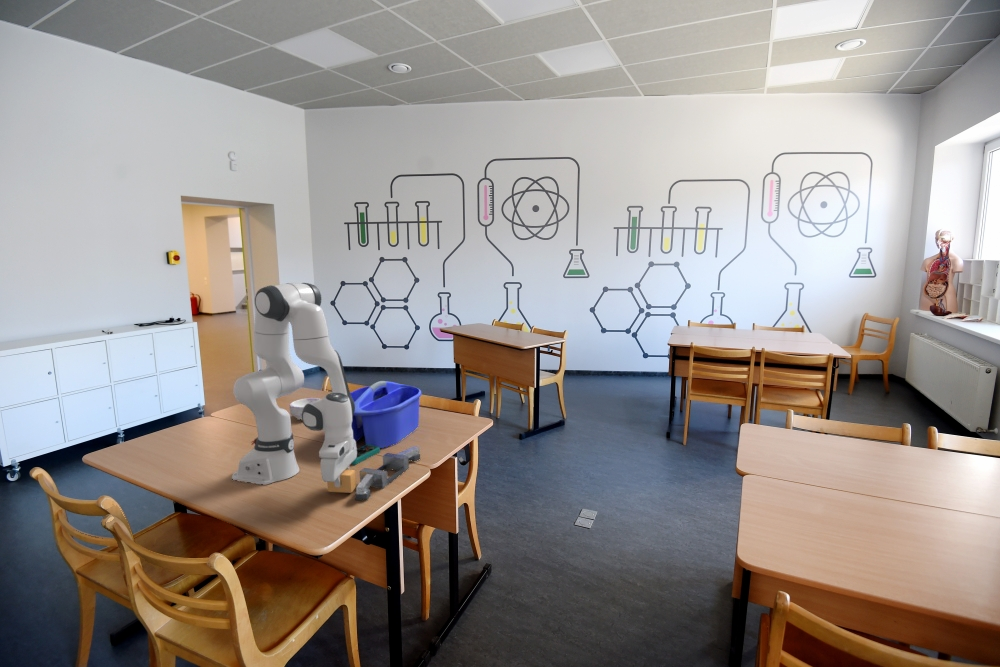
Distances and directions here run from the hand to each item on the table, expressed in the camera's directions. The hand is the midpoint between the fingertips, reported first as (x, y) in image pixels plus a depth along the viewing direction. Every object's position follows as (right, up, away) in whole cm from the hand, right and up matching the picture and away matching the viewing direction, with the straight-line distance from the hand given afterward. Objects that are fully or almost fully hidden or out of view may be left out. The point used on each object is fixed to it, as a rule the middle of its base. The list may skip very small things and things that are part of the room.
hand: (341, 482), depth 167 cm
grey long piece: (+12, -2, +12) cm, 17 cm away
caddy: (-1, +5, +56) cm, 57 cm away
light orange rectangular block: (0, -2, 0) cm, 2 cm away
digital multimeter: (-2, 0, +30) cm, 30 cm away
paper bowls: (-42, +8, +80) cm, 91 cm away
